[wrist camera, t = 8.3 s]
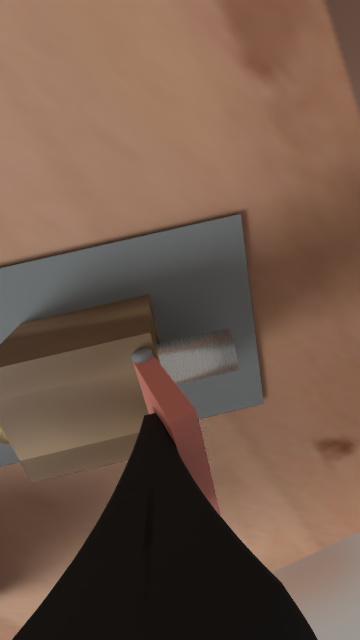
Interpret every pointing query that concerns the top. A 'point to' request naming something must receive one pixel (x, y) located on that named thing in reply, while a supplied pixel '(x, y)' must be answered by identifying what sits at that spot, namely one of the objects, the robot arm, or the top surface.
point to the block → (75, 387)
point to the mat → (153, 298)
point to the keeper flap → (175, 418)
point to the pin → (192, 358)
